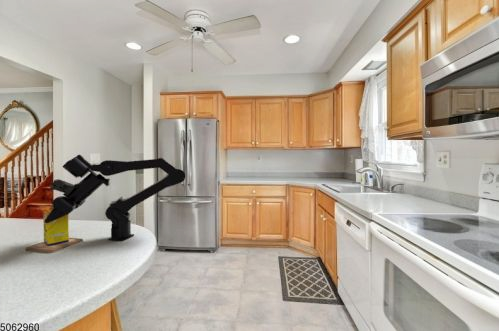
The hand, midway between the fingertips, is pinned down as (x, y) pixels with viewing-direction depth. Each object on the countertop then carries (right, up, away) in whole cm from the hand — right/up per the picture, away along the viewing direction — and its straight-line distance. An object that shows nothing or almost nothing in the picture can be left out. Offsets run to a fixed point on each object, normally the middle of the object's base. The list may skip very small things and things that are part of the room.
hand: (49, 219), depth 82 cm
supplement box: (+2, -8, +1) cm, 9 cm away
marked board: (+1, -9, +1) cm, 9 cm away
